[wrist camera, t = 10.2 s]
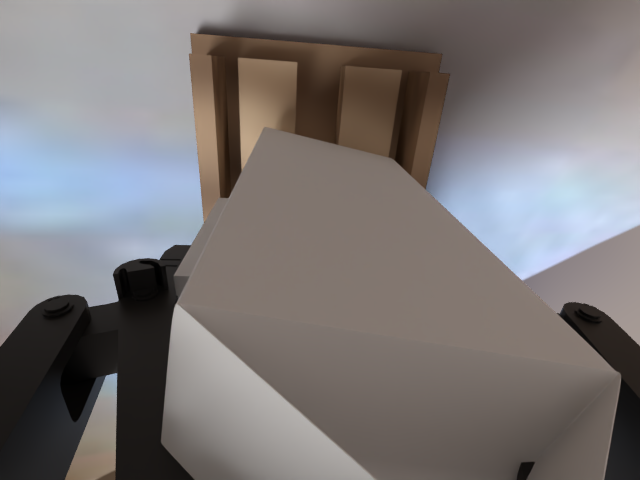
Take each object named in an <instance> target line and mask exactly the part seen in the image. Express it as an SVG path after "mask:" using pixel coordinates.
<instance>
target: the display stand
mask: <svg viewBox="0 0 640 480" xmlns="http://www.w3.org/2000/svg"><path fill="white" fill-rule="evenodd" d="M190 34H191V46H192V54H189V60H190V71H191V82H192V94H193V105H194V116H195V128H196V139H197V150H198V162H199V173H200V184H201V196H202V207H203V218H204V222H205V221H206V219H207V217H208V215H209V214H210V212H211V210H212V209H213V207H214V205H215V203H216V202H217V200H218V198H229V197H230V195H231V193H232V191H233V189H234V186H235V184H236V182H237V180H238V178H239V176H240V174H241V172H242V170H243V168H244V166H245V164H246V162H247V160H248V158H249V156H250V154H251V152H252V150H253V148H254V146H255V144H256V142H257V140H258V138H259V136H260V134H261V132H262V130H263V128H264V127H268V128H272V129H276V130H280V131H284V132H288V133H292V134H296V135H300V136H304V137H308V138H312V139H316V140H320V141H324V142H328V143H332V144H336V145H340V146H344V147H348V148H352V149H356V150H360V151H365V152H369V153H373V154H377V155H381V156H385V157H389V158H392V159H393V160H395V161H396V162H397V163H398V164H399V165H400V166H401V167H402V168H403V169H404V170H405V171H406V172H407V173H408V174H409V175H410V176H412V177H413V178H414V179H415V180H416V181H417V182H418V183H419V184H420V185H421V186H422V187H423V188H424V189H426V185H427V180H428V175H429V171H430V166H431V161H432V157H433V152H434V147H435V142H436V138H437V133H438V128H439V124H440V119H441V114H442V109H443V105H444V100H445V95H446V91H447V86H448V81H449V76H450V74H447V73H439V68H440V63H441V58H442V54H437V53H425V52H413V51H400V50H388V49H376V48H364V47H352V46H340V45H327V44H315V43H303V42H291V41H279V40H267V39H254V38H242V37H230V36H218V35H206V34H194V33H190Z"/></svg>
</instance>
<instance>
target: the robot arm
mask: <svg viewBox="0 0 640 480" xmlns="http://www.w3.org/2000/svg"><path fill="white" fill-rule="evenodd" d="M228 199H229V198H218V200H217V202H216V203H215V205H214V207H213V209H212V210H211V212H210V214H209V215H208V217H207V219H206V221H205V222H204V224H203V226H202V228H201V229H200V231H199V233H198V234H197V236H196V238H195V240H194V241H193V243H192V245H174V246H173V247H171V248H170V249H168V250H166V251H165V252H164V254H163V255H162V257H161V258H160V260H157V259H150V258H146V259H137V260H133V261H129V262H127V263H124V264H122V265H120V266H119V267H118V268H116V269H115V271H114V273H113V277H114V281H115V285H116V290H117V294H118V298H119V301H118V302H115V303H110V304H105V305H99V306H93V307H88V304H87V301H86V300H85V298H84V297H81V296H79V295H62V296H56V297H53V298H49V299H47V300H45V301H43V302H41V303H39V304H37V305H36V306H35V307H33V308H32V309H31V310H30V311H29V312H28V313H27V315H26V316H25V317H24V318H23V320H22V321H21V322H20V323H19V324H18V326H17V327H16V328H15V329H14V331H13V332H12V333H11V334H10V336H9V337H8V338H7V339H6V341H5V342H4V343H3V344H2V346H1V347H0V480H65V477H66V475H67V472H68V470H69V467H70V465H71V462H72V460H73V457H74V455H75V452H76V450H77V447H78V445H79V442H80V440H81V437H82V435H83V432H84V430H85V427H86V425H87V422H88V420H89V417H90V415H91V412H92V410H93V407H94V405H95V402H96V399H97V397H98V394H99V392H100V389H101V387H102V384H103V382H104V379H105V377H106V375H110V374H114V373H117V425H116V480H194V478H193V477H192V476H191V475H190V474H189V473H188V472H187V471H186V470H185V469H184V468H183V467H182V466H181V465H180V463H179V462H178V461H177V460H176V459H175V458H174V457H173V456H172V455H171V454H170V453H169V452H168V450H167V449H166V448H165V447H164V446H163V445H162V443H161V434H162V423H163V412H164V400H165V389H166V377H167V366H168V355H169V344H170V334H171V325H172V318H173V312H174V307H175V305H176V303H177V301H178V299H179V297H180V295H181V293H182V291H183V289H184V287H185V285H186V283H187V281H188V279H189V277H190V275H191V273H192V271H193V269H194V267H195V265H196V263H197V261H198V259H199V257H200V255H201V253H202V251H203V249H204V247H205V245H206V243H207V241H208V239H209V237H210V235H211V233H212V231H213V229H214V227H215V225H216V223H217V221H218V219H219V217H220V215H221V213H222V211H223V209H224V207H225V205H226V203H227V201H228ZM557 314H558V313H557ZM558 315H559V316H560V317H561V318H562V319H563V320H564V321H565V322H566V323H567V324H568V325H569V326H570V327H571V328H572V329H574V330H575V331H576V332H577V333H578V334H579V335H580V336H581V337H582V338H583V339H584V340H585V341H586V342H587V343H588V344H589V345H590V346H591V347H592V348H593V349H594V350H595V351H596V352H597V353H598V354H599V355H600V356H601V357H602V358H603V359H604V360H605V361H606V362H607V363H608V364H609V365H610V366H611V367H612V368H613V369H614V370H615V371H617V372H619V373H620V374H621V384H620V391H619V397H618V402H617V408H616V414H615V420H614V425H613V431H612V437H611V443H610V449H609V454H608V460H607V466H606V472H605V478H604V480H640V346H639V345H638V344H637V343H636V342H635V341H634V340H633V339H632V338H631V337H630V336H629V335H628V334H627V333H626V332H625V331H624V330H623V329H622V328H621V327H619V326H618V324H616V323H615V322H614V321H613V320H612V319H611V318H610V317H609V316H608V315H606V314H605V313H604V312H602V311H600V310H598V309H597V308H595V307H593V306H589V305H587V304H581V303H576V302H573V303H572V302H571V303H570V302H569V303H566V304H564V306H563V308H562V310H561V313H560V314H558ZM534 464H535V462H521V464H520V468H519V471H518V474H517V480H527V478H528V476H529V474H530V472H531V470H532V468H533V466H534Z"/></svg>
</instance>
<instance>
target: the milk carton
mask: <svg viewBox="0 0 640 480" xmlns="http://www.w3.org/2000/svg"><path fill="white" fill-rule="evenodd" d="M620 384H621V374H620V373H619V372H617V371H615V370H614V369H613V368H612V367H611V366H610V365H609V364H608V363H607V362H606V361H605V360H604V359H603V358H602V357H601V356H600V355H599V354H598V353H597V352H596V351H595V350H594V349H593V348H592V347H591V346H590V345H589V344H588V343H587V342H586V341H585V340H584V339H583V338H582V337H581V336H580V335H579V334H578V333H577V332H576V331H575V330H574V329H572V328H571V327H570V326H569V325H568V324H567V323H566V322H565V321H564V320H563V319H562V318H561V317H560V316H559V315H558V314H557V313H556V312H555V311H553V310H552V309H551V308H550V307H549V306H548V305H547V304H546V303H545V302H544V301H543V300H542V299H541V298H540V297H539V296H538V295H536V293H534V292H533V291H532V290H531V289H530V288H529V287H528V286H527V285H526V284H525V283H524V282H523V281H522V280H521V279H520V278H519V277H517V276H516V275H515V274H514V273H513V272H512V271H511V270H510V269H509V268H508V267H507V266H506V265H505V264H504V263H503V262H502V261H501V260H499V259H498V258H497V257H496V256H495V255H494V254H493V253H492V252H491V251H490V250H489V249H488V248H487V247H486V246H485V245H484V244H483V243H481V242H480V241H479V240H478V239H477V238H476V237H475V236H474V235H473V234H472V233H471V232H470V231H469V230H468V229H467V228H466V227H465V226H463V225H462V224H461V223H460V222H459V221H458V220H457V219H456V218H455V217H454V216H453V215H452V214H451V213H450V212H449V211H448V210H447V209H445V208H444V207H443V206H442V205H441V204H440V203H439V202H438V201H437V200H436V199H435V198H434V197H433V196H432V195H431V194H430V193H428V192H427V191H426V190H425V189H424V188H423V187H422V186H421V185H420V184H419V183H418V182H417V181H416V180H415V179H414V178H413V177H412V176H410V175H409V174H408V173H407V172H406V171H405V170H404V169H403V168H402V167H401V166H400V165H399V164H398V163H397V162H396V161H395V160H393V159H392V158H389V157H385V156H381V155H377V154H373V153H369V152H365V151H360V150H356V149H352V148H348V147H344V146H340V145H336V144H332V143H328V142H324V141H320V140H316V139H312V138H308V137H304V136H300V135H296V134H292V133H288V132H284V131H280V130H276V129H272V128H268V127H264V128H263V130H262V132H261V134H260V136H259V138H258V140H257V142H256V144H255V146H254V148H253V150H252V152H251V154H250V156H249V158H248V160H247V162H246V164H245V166H244V168H243V170H242V172H241V174H240V176H239V178H238V180H237V182H236V184H235V186H234V189H233V191H232V193H231V195H230V197H229V199H228V201H227V203H226V205H225V207H224V209H223V211H222V213H221V215H220V217H219V219H218V221H217V223H216V225H215V227H214V229H213V231H212V233H211V235H210V237H209V239H208V241H207V243H206V245H205V247H204V249H203V251H202V253H201V255H200V257H199V259H198V261H197V263H196V265H195V267H194V269H193V271H192V273H191V275H190V277H189V279H188V281H187V283H186V285H185V287H184V289H183V291H182V293H181V295H180V297H179V299H178V301H177V303H176V305H175V307H174V312H173V318H172V325H171V334H170V344H169V355H168V366H167V377H166V389H165V400H164V412H163V423H162V434H161V443H162V445H163V446H164V447H165V448H166V449H167V450H168V452H169V453H170V454H171V455H172V456H173V457H174V458H175V459H176V460H177V461H178V462H179V463H180V465H181V466H182V467H183V468H184V469H185V470H186V471H187V472H188V473H189V474H190V475H191V476H192V477H193V478H194V480H517V474H518V471H519V468H520V464H521V462H535V464H534V466H533V468H532V470H531V472H530V474H529V476H528V478H527V480H604V478H605V472H606V466H607V460H608V454H609V449H610V443H611V437H612V431H613V425H614V420H615V414H616V408H617V402H618V397H619V391H620Z"/></svg>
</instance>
